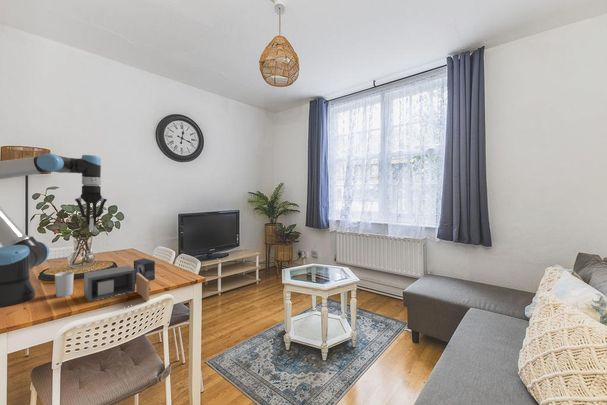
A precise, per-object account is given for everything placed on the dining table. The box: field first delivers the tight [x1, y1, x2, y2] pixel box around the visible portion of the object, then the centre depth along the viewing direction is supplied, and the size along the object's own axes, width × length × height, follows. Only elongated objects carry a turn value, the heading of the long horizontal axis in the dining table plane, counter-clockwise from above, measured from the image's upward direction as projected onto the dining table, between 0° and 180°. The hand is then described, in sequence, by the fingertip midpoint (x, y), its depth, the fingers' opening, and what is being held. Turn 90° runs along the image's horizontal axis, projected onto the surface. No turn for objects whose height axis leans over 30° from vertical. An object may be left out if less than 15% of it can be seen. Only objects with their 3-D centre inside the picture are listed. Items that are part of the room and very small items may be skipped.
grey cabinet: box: [83, 265, 136, 303], centre depth 124 cm, size 18×10×11 cm, turn 138°
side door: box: [135, 273, 152, 302], centre depth 123 cm, size 16×2×9 cm, turn 47°
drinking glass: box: [54, 270, 75, 298], centre depth 121 cm, size 7×7×10 cm
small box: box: [133, 257, 156, 282], centre depth 145 cm, size 11×6×10 cm, turn 62°
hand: (91, 230), depth 134 cm, fingers closed
